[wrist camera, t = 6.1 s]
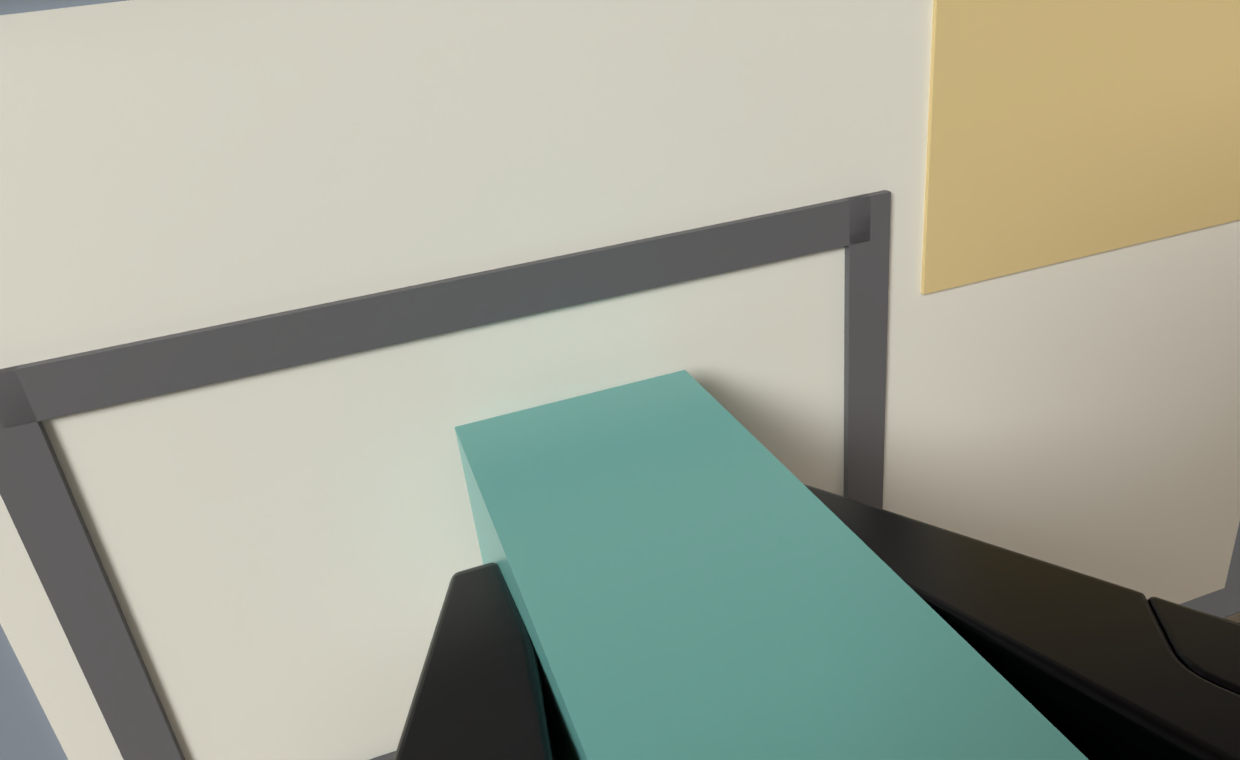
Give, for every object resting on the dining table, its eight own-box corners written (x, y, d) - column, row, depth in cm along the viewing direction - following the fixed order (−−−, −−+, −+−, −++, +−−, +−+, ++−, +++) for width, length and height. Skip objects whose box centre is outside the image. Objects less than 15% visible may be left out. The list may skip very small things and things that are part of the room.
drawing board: (1419, -227, 11) (1487, -239, 10) (1230, 588, 16) (1267, 612, 16) (-475, -59, 6) (-553, -62, 6) (112, 994, 12) (104, 1052, 11)
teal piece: (684, 369, 10) (1280, 944, 4) (701, 560, 11) (1187, 1228, 5) (454, 426, 9) (766, 1205, 3) (495, 622, 10) (784, 1465, 4)
